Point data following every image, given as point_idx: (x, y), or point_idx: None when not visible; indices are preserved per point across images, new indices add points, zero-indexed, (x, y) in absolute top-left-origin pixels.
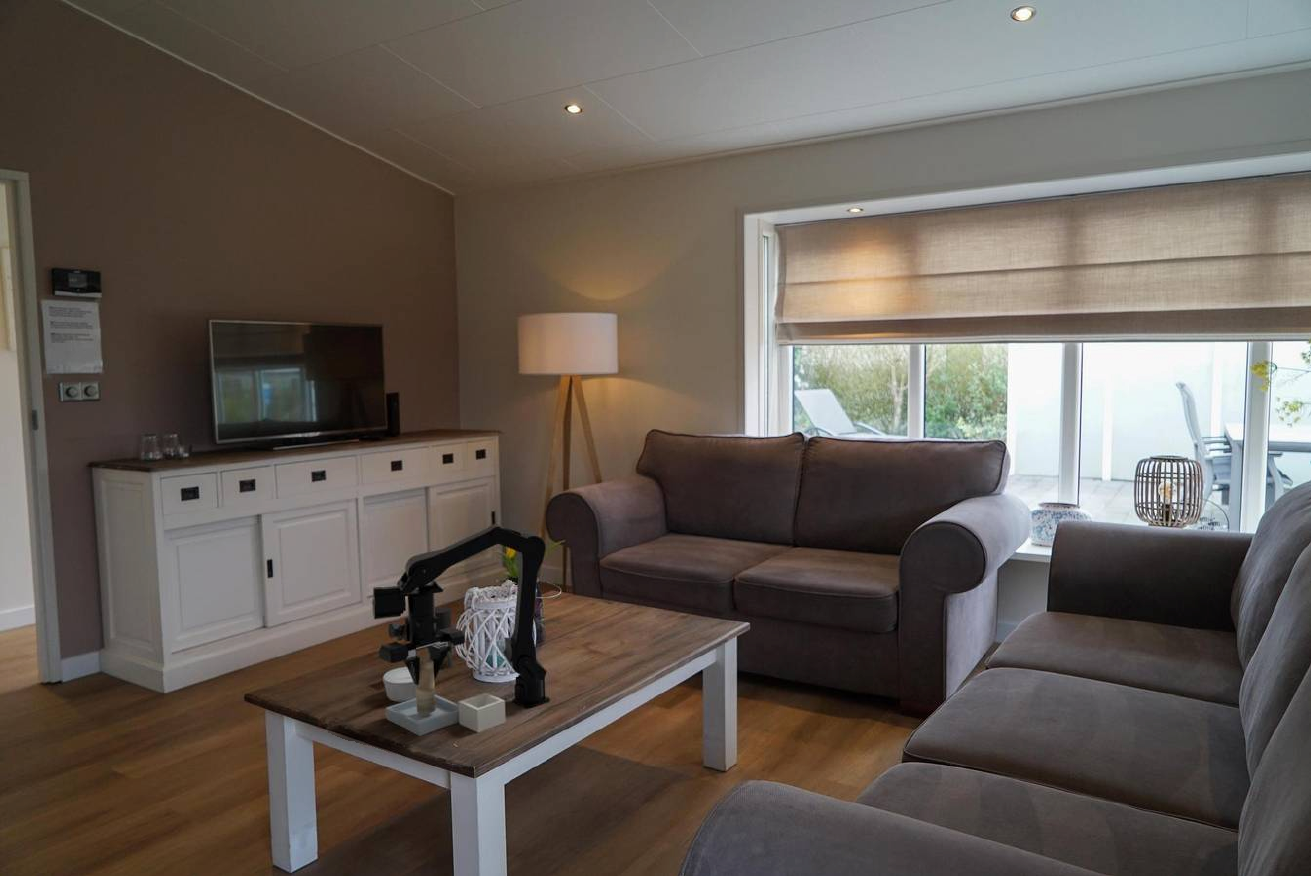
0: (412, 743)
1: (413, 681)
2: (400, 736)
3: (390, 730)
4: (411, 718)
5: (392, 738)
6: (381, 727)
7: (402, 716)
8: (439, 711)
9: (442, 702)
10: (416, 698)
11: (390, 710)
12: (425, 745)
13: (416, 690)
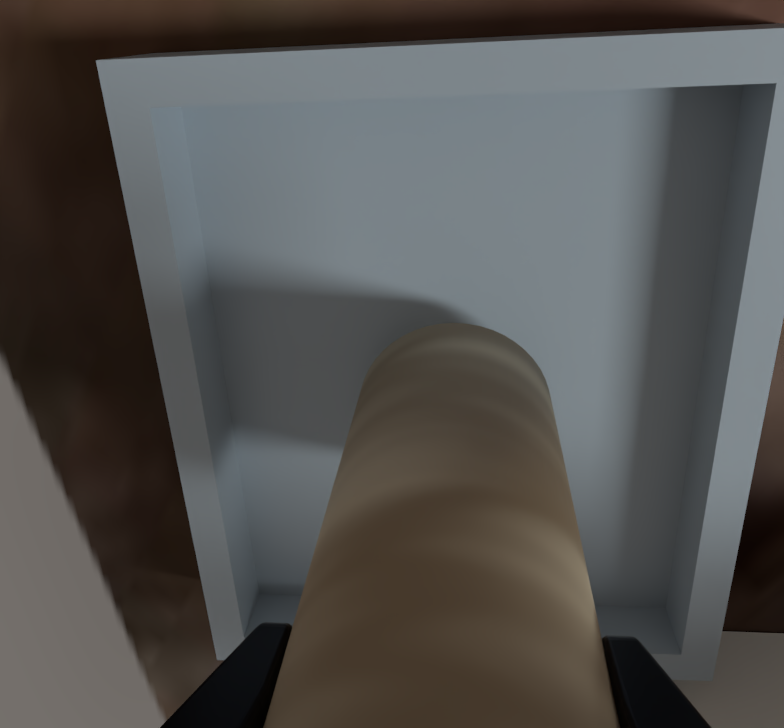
0: (158, 642)
1: (233, 659)
2: (130, 501)
3: (100, 349)
4: (220, 526)
5: (68, 489)
6: (51, 229)
7: (171, 427)
8: (589, 414)
9: (722, 334)
10: (346, 447)
11: (122, 183)
12: None
13: (314, 550)
